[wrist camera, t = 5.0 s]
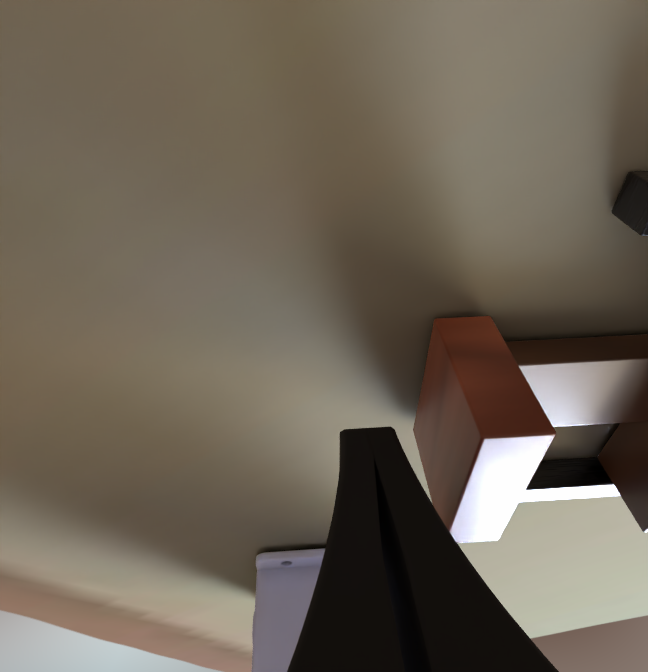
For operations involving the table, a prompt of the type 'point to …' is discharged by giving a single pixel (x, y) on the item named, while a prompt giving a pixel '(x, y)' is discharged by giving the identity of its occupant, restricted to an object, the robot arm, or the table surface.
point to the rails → (587, 473)
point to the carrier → (523, 417)
